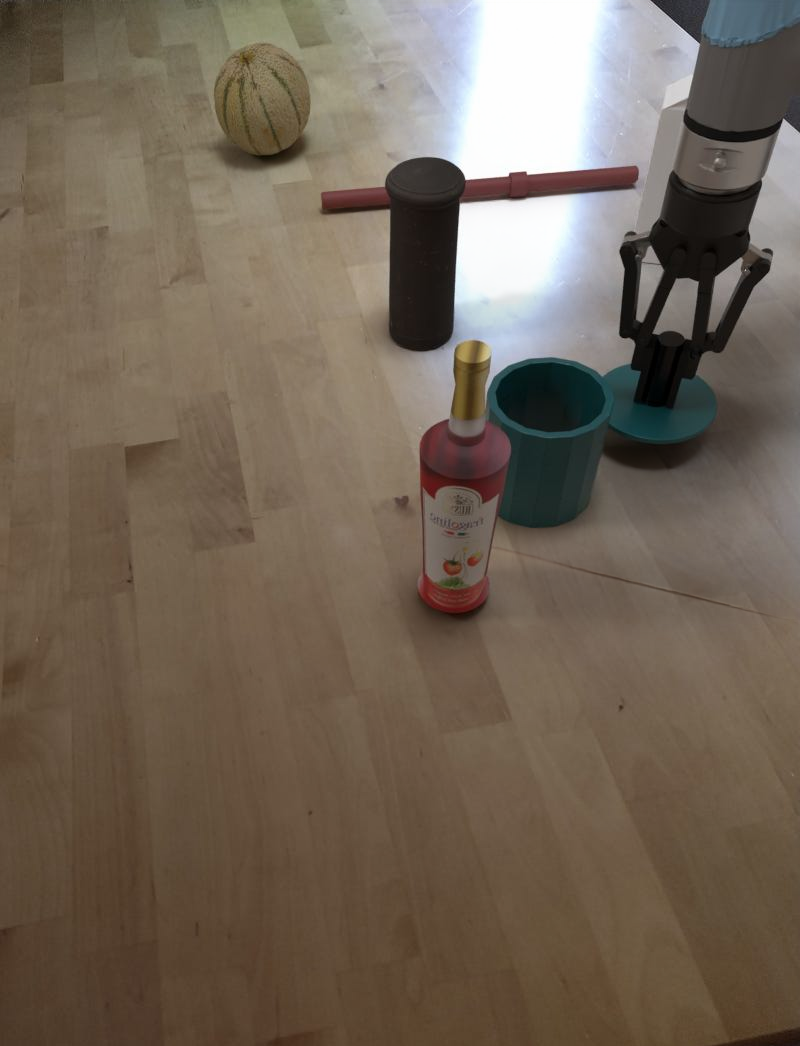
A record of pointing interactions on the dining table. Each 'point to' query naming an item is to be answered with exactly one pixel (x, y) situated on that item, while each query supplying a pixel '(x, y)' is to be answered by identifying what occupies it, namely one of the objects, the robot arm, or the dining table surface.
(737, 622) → the dining table surface
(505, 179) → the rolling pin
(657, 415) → the teal lid
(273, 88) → the cantaloupe
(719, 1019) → the dining table surface
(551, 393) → the teal pot
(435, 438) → the liquor
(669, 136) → the milk
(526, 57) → the dining table surface
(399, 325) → the container
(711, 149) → the robot arm
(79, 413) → the dining table surface
